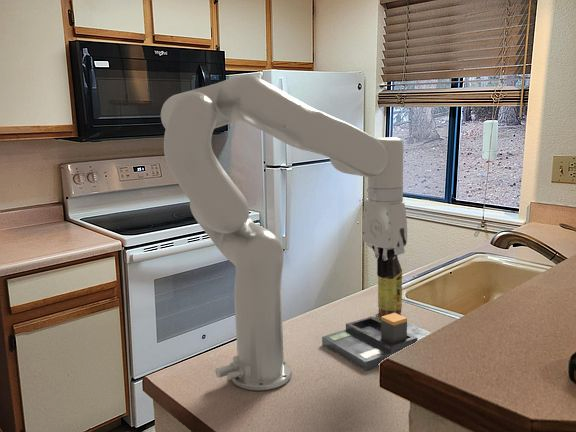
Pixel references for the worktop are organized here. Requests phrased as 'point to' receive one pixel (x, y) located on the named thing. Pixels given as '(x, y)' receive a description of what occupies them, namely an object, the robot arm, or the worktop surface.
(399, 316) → the toggle
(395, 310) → the sauce bottle
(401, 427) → the worktop surface
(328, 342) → the panel
